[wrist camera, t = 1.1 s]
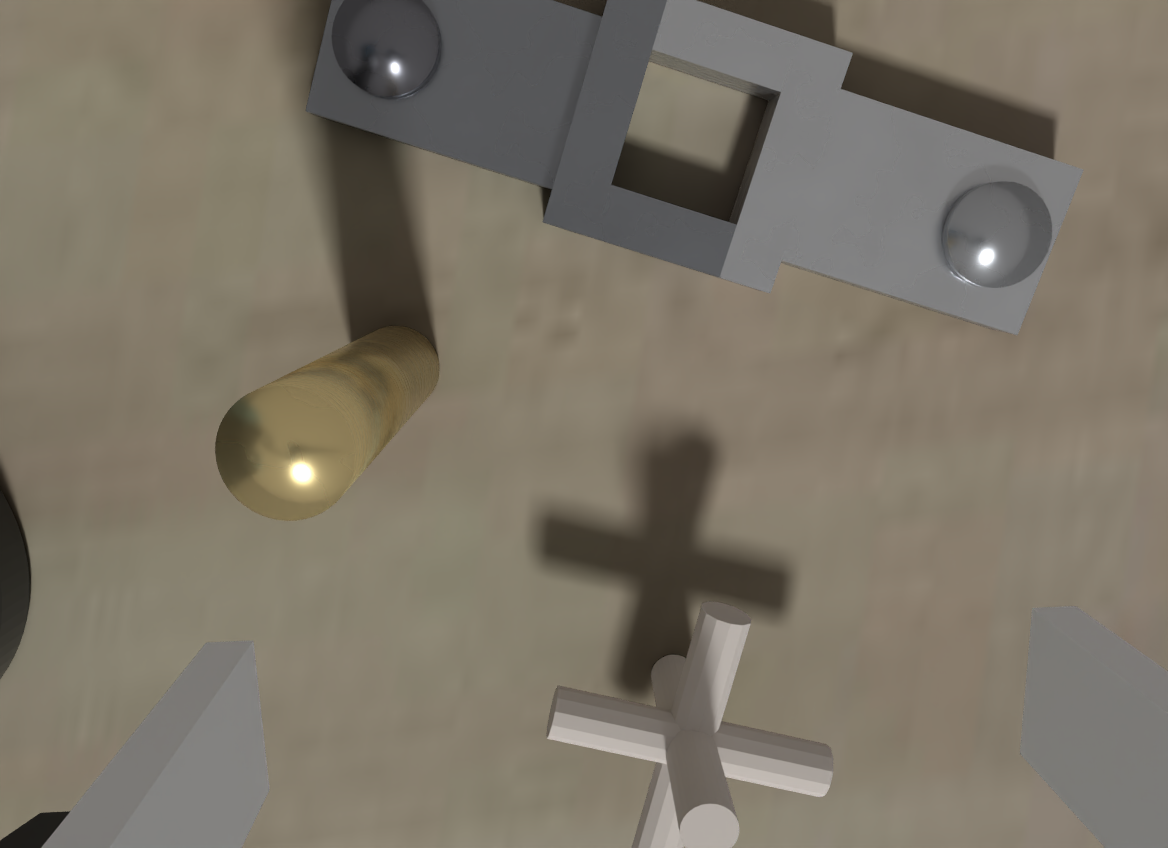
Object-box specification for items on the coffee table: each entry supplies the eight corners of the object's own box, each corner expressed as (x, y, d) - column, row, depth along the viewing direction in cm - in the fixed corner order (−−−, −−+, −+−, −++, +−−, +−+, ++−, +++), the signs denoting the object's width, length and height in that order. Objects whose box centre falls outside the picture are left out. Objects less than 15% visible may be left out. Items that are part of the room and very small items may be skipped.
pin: (345, 395, 35) (202, 498, 21) (366, 315, 34) (232, 368, 21) (426, 419, 35) (336, 536, 22) (449, 339, 35) (370, 409, 21)
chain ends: (305, 147, 33) (283, 140, 31) (363, -95, 32) (344, -124, 29) (980, 359, 35) (1012, 369, 33) (1066, 140, 34) (1107, 133, 31)
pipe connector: (583, 534, 36) (588, 645, 27) (824, 589, 37) (916, 718, 27) (526, 757, 38) (511, 937, 28) (756, 806, 39) (819, 999, 29)
